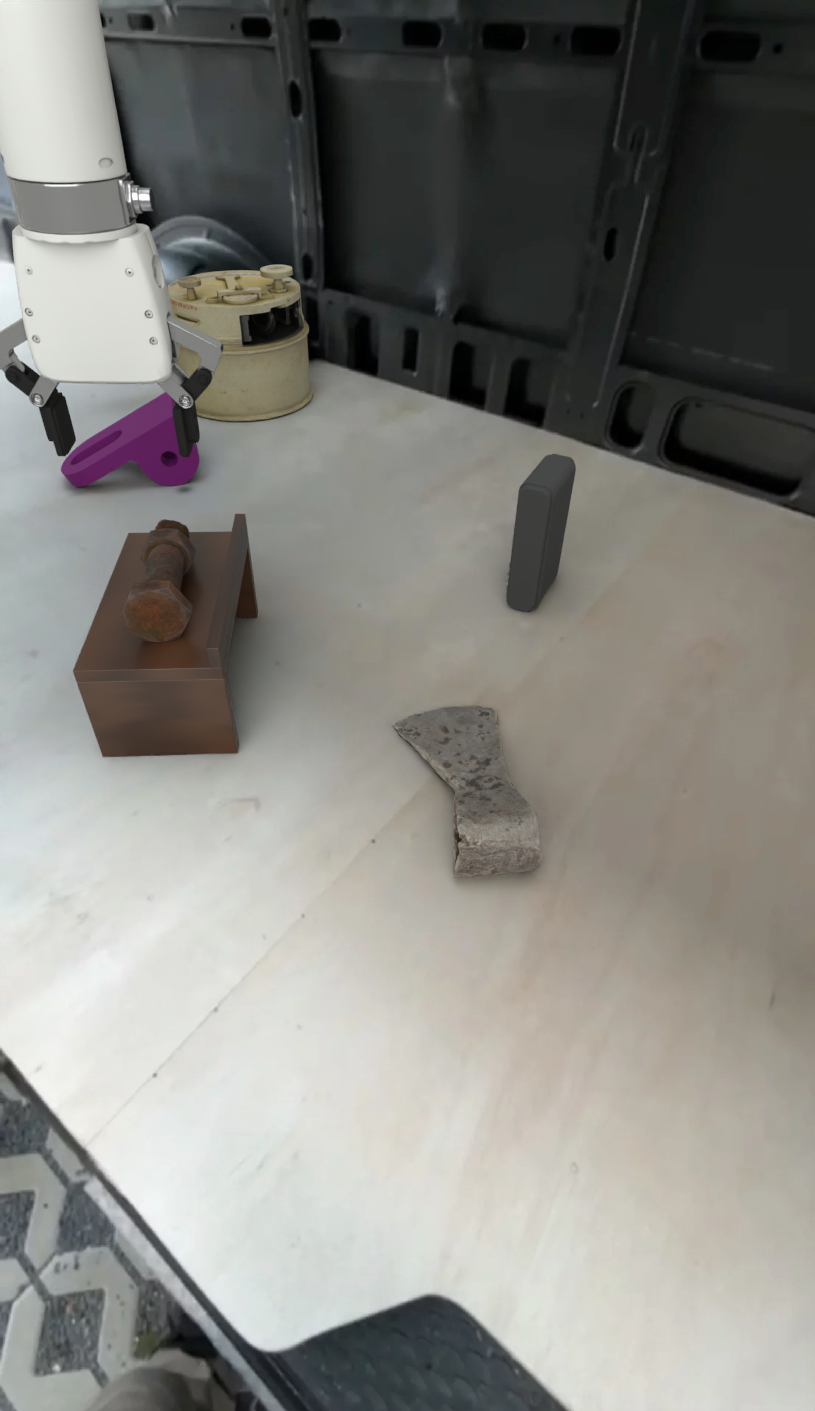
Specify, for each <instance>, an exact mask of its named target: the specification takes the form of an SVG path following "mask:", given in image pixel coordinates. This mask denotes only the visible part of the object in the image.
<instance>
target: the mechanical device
mask: <svg viewBox="0 0 815 1411" xmlns="http://www.w3.org/2000/svg"><path fill="white" fill-rule="evenodd" d="M293 270H294V269H293V266H291V265H287V264H279V263H278V264H269V265H265V266H261V267H260V269H259V270H248V269H246V270H245V269H238V270H235V269H234V270H233V269H232V270H217V271H208V272H207V271H206V272H200V273H196V274H192V275H188V276H182V277H180V278H178V279H176V280H174V281H173V282H171V283H170V284H168V285H167V288H168V292H169V297H170V301H171V306H172V310H173V315H174V317H175V318H176V319H178V320H180V321H182V322H184V323H186V324H188V325H190V326H192V327H194V328H196V329H198V330H200V331H202V332H204V333H205V334H207V335H209V336H211V337H213V338H215V339H217V340H219V341H220V342H222V344H223V347H224V348H223V352H222V355H221V357H220V360H219V363H218V365H217V368H216V370H215V373H214V375H213V378H212V381H211V383H210V385H209V386H208V387H207V388H206V389H205V390H204V392H203V393H202V394H201V395H200V396H199V397H198V398H197V399H196V401H195V405H196V411H197V417H198V416H199V417H202V418H206V419H210V420H217V421H227V422H255V421H262V420H270V419H274V418H279V417H282V416H285V415H289V414H291V413H295V412H297V411H298V410H301V409H303V407H305V406H306V405H307V404H308V403H309V402H310V401H311V399H312V398H313V395H314V390H313V387H312V385H311V377H310V376H311V375H310V374H311V373H310V362H309V361H310V360H309V347H308V346H309V345H308V343H309V342H308V334H309V332H310V326H309V324H308V323H307V321H306V320H305V315H304V314H303V306H302V294H301V285H300V283H299V282H298V281H297V280H296V279H294V278H292V277H291V276H294V271H293ZM179 348H180V355H179V360H177V361H176V363H177V364H178V365H179V366H180V367H181V368H182V369H183V370H184V371H185V372H186V373H187V374H188V375H189V376H191V375H192V374H193V373H194V372H195V370H196V369H197V368H198V367H199V365H200V362H201V358H200V356H199V354H197V353H196V352H194V351H192V350H190V349H188V348H186V347H184V346H182V345H180V344H179Z"/></svg>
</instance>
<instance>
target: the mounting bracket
mask: <svg viewBox="0 0 815 1411" xmlns="http://www.w3.org/2000/svg"><path fill="white" fill-rule="evenodd" d="M174 405H175V400H173V399H172V398H171V397H170V396H169V395H168V394H167V393H166V392H165V391H164V392H163V393H162V394H160V395H158V396H156V397H155V398H153V399H151V400H150V401H148V402H146V403H145V404H143V405H142V406H140V407H138V408H137V409H134V410H133V411H131V412H130V413H129V414H126V415H125V416H123V417H121V418H120V419H119V420H116V421H114V422H113V423H112V424H110V425H109V426H107V427H105V428H103V429H102V430H101V431H98V432H97V433H95V434H94V435H92V436H90V437H88V438H87V439H86V440H84V441H83V442H82V443H80V444H78V446H76V447H75V449H73V450H72V451H70V452H69V453H68V455H67V456H66V458H65V459H64V461H63V462H62V464H61V466H60V472H61V474H62V475H63V476H64V477H65V479H66V480H68V482H69V483H70V484H71V485H72V486H73V487H75V488H79V487H85V486H88V485H90V484H93V483H94V482H96V481H99V480H100V479H102V478H103V477H105V476H107V475H109V474H110V473H112V472H113V471H115V470H117V469H118V468H120V467H122V466H124V465H125V464H128V462H135V463H136V464H137V465H138V466H139V468H140V470H142V471H143V473H144V474H145V475H146V476H147V477H148V478H149V479H151V481H153V482H155V483H156V484H159V485H162V486H166V487H176V486H181V485H184V484H186V483H188V482H189V481H191V480H192V479H193V478H194V476H195V475H196V474H197V472H198V469H199V466H200V455H199V448H198V445H197V444H198V443H194V445H193V448H192V451H191V454H190V457H182V456H181V455H180V454H179V448H178V443H177V437H176V431H175V425H174V419H173V413H172V411H173V407H174Z"/></svg>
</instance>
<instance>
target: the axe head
mask: <svg viewBox="0 0 815 1411" xmlns="http://www.w3.org/2000/svg"><path fill="white" fill-rule="evenodd" d="M497 723H498V716H497V711H496V710H495V708H493V707H483V706H480V705H465V706H446V707H441V708H437V709H436V708H435V709H433V710H429V711H425V712H422V713H414V714H412V715H409V716H407V717H406V718H405V719H403V720H400V721H396V722H395V723H394V724H393V728H394V729H395V730H397V733H398V735H400V736H401V737H402V738H403V739H404V740H405V741H406V742H409V744H410V745H411V747H413V748H414V749H415V750H416V751H417V752H418V754H420V756H421V757H422V758H423V760H425V761H426V762H428V764H429V766H430V767H431V768H432V769H433V770H435V772H436V773H437V774H438V775H439V776H440V777H441V779H443V781H444V782H445V783H447V784H448V786H449V787H451V789H452V790H453V792H454V796H453V804H452V805H453V806H452V807H453V808H452V809H453V811H452V820H453V823H452V824H453V825H452V826H453V843H452V859H453V865H452V866H453V870H452V874H453V877H455V878H462V877H470V878H471V877H475V876H479V875H480V876H495V875H501V874H515V873H516V874H519V873H525V872H531V871H533V872H535V870H536V869H538V867H539V866H540V859H541V838H540V834H539V828H538V822H537V816H536V814H535V812H534V809H533V807H532V805H531V804H530V803H529V802H528V801H527V800H526V798H524V797H523V796H522V794H521V793H519V791H517V790H516V789H515V787H514V786H513V784H512V782H511V780H510V776H509V775H508V768H507V765H506V760H505V758H504V754H503V746H502V739H501V736H500V735H501V734H500V731H499V727H498V725H497Z"/></svg>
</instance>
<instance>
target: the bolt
mask: <svg viewBox="0 0 815 1411" xmlns="http://www.w3.org/2000/svg"><path fill="white" fill-rule="evenodd" d="M189 532H190V530H189V528H188V526H187V525H186V524H183V523H181V522H180V521H177V520H175V519H166V518H165V519H160V520H159V521H158V522H157V523H156V526H155V528H154V529H152V530H150V531H149V532H148V533H149V535H148V537H147V539H146V542H145V544H144V547H143V549H142V552H141V556H140V559H141V561H142V562H143V564H144V565H145V566H146V570H145V576H144V580H143V582H133V584H132V586H131V588H130V591H129V593H128V596H127V598H126V600H125V603H124V605H123V608H122V610H121V614H120V618H121V619H122V621H123V622H124V623H125V625H126V626H127V627H128V628H129V629H130V630H131V631H132V632H133V633H134V634H135V635H136V636H138V637H139V638H141V639H143V640H144V641H150V642H166V641H171V640H175V639H178V638H180V636H181V635H182V633H183V631H184V629H185V627H186V625H187V623H188V620H189V618H190V615H191V613H192V606H193V605H192V604H191V603H190V602H189V601H188V600H187V599H186V597H185V596H184V595H183V594H182V593H181V592H180V589H181V584H182V578H183V577H185V576H186V575H187V573H188V571H189V569H190V567H191V564H192V562H193V560H194V557H195V553H196V549H195V547H194V546H193V544H192V543H191V542H190V540H189V536H190V535H188V534H189Z"/></svg>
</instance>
